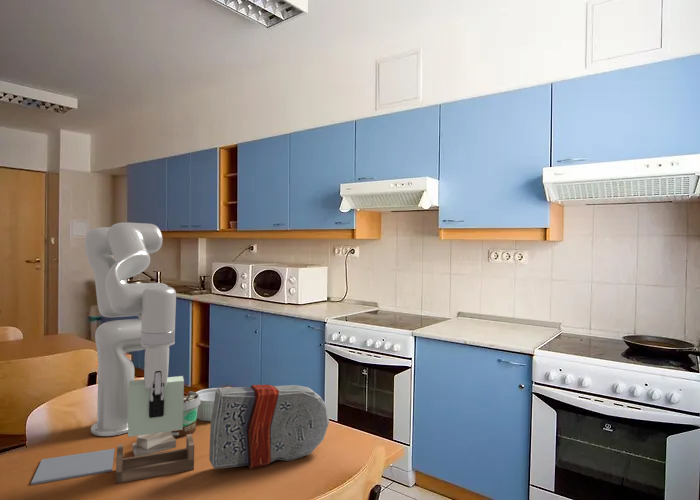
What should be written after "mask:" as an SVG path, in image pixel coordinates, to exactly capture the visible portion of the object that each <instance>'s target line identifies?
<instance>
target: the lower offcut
mask: <svg viewBox="0 0 700 500" xmlns="http://www.w3.org/2000/svg"><path fill="white" fill-rule="evenodd" d="M131 445H132V447H131V448H132V449H131V451H132V453H133V455H134V456H140V455H147V454H153V453H159V452H164V451H167V450H171V449H175V448H177V438H174V437H173V436H172V435H171V437H170V438H168V439H167V440H165V441H163V442H161V443H159V444H157V445H155V446H153V447H151V448H149V449H143V448H139V447H136V446H137V442H134V443H132V444H131Z"/></svg>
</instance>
